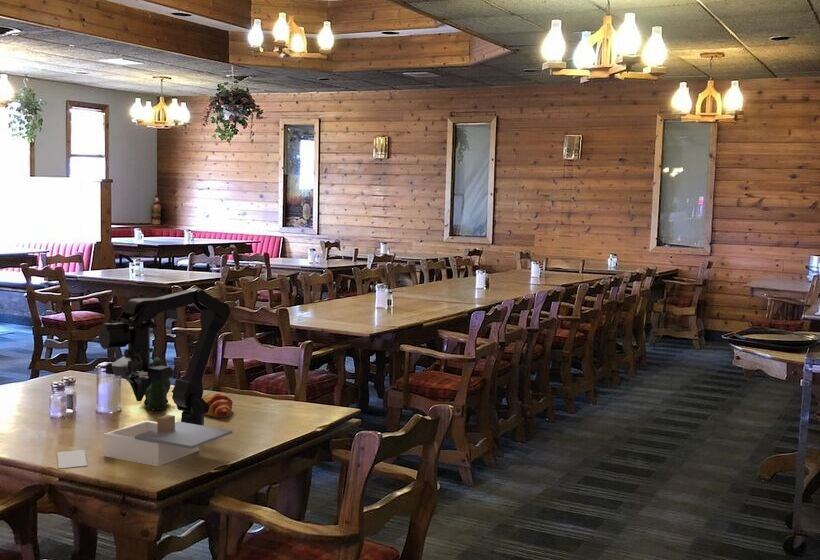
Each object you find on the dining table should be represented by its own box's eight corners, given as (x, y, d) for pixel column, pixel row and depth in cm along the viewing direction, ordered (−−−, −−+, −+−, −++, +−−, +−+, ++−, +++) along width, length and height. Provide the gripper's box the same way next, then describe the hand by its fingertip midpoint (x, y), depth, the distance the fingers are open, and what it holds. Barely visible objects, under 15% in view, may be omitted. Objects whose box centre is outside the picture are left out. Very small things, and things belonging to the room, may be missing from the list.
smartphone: (58, 468, 214) (56, 451, 228) (58, 470, 214) (56, 453, 228) (88, 465, 217) (84, 449, 230) (88, 467, 217) (84, 451, 230)
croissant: (198, 416, 283) (186, 396, 280) (224, 400, 287) (213, 380, 284) (217, 431, 264) (205, 409, 262) (245, 413, 268) (234, 391, 266)
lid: (178, 424, 235) (178, 408, 235) (232, 433, 228) (232, 417, 228) (134, 438, 220) (134, 422, 220) (191, 449, 213) (191, 432, 212)
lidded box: (146, 441, 240) (146, 420, 240) (198, 450, 233) (198, 429, 232) (103, 456, 226) (103, 433, 225) (158, 466, 218) (158, 443, 218)
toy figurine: (172, 420, 270) (169, 395, 293) (173, 362, 266) (169, 341, 290) (141, 422, 267) (140, 396, 290) (141, 363, 264) (140, 342, 287)
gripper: (90, 346, 232) (91, 403, 233) (146, 352, 224) (147, 411, 226) (119, 340, 242) (120, 395, 243) (174, 346, 235) (174, 402, 236)
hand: (139, 401), depth 237 cm, fingers closed
